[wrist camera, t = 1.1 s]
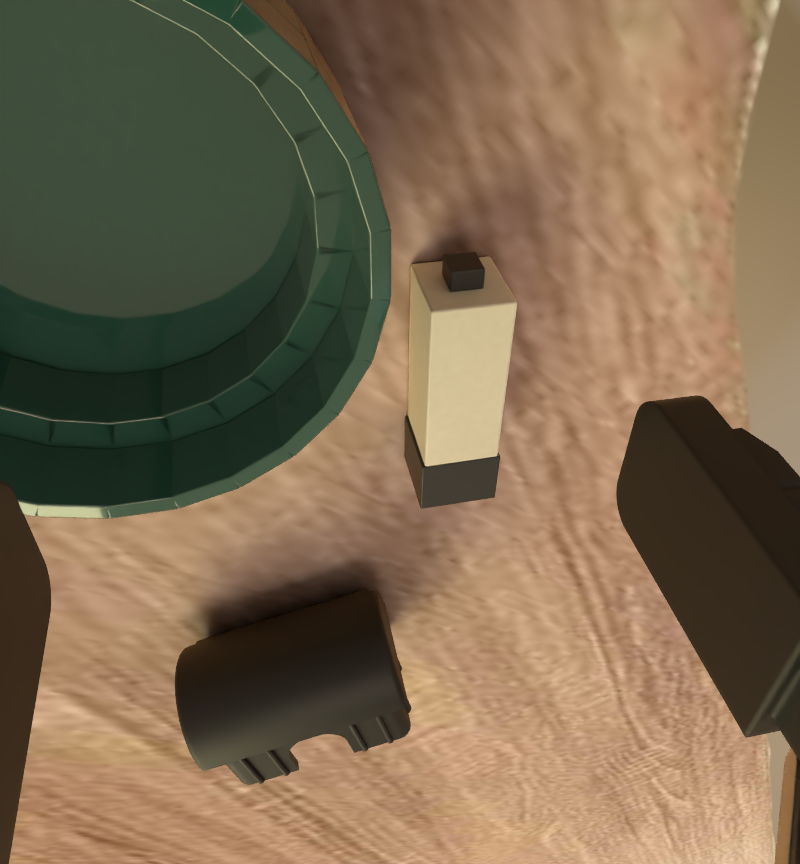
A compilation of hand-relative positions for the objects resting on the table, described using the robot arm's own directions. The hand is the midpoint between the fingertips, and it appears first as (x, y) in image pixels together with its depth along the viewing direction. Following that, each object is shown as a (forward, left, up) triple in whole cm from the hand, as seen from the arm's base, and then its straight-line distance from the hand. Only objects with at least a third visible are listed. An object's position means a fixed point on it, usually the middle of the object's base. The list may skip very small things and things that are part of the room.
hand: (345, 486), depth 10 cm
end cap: (+27, -1, -17) cm, 32 cm away
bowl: (+3, -5, -17) cm, 18 cm away
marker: (+11, +6, -17) cm, 21 cm away
